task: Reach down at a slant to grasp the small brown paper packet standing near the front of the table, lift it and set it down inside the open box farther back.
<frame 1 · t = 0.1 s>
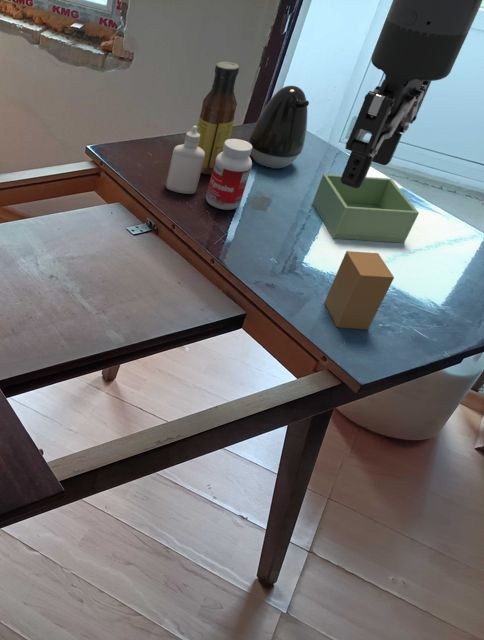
hand: (364, 173, 78), 25 cm above the table, tool pointing down, fingers open, 8 cm apart
black bird figurine: (269, 163, 137), on the table
packet: (345, 315, 99), on the table
sauce bottle: (204, 170, 134), on the table
eye dropper bottle: (180, 190, 127), on the table
open box: (356, 222, 121), on the table
pill bottle: (222, 203, 124), on the table
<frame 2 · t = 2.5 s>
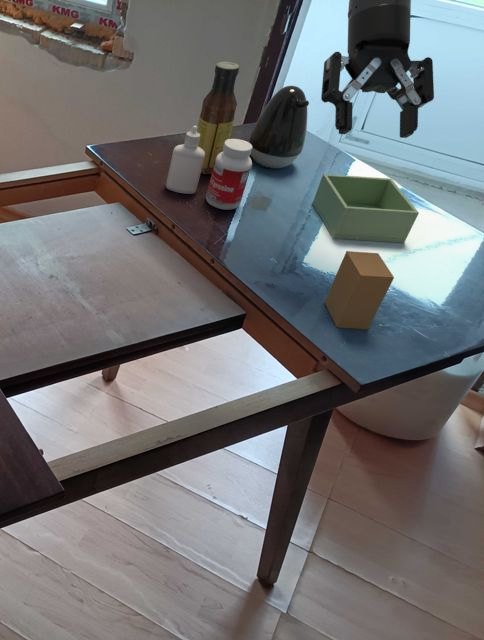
hand: (376, 134, 92), 23 cm above the table, tool tilted 45°, fingers open, 8 cm apart
nothing on the table moved.
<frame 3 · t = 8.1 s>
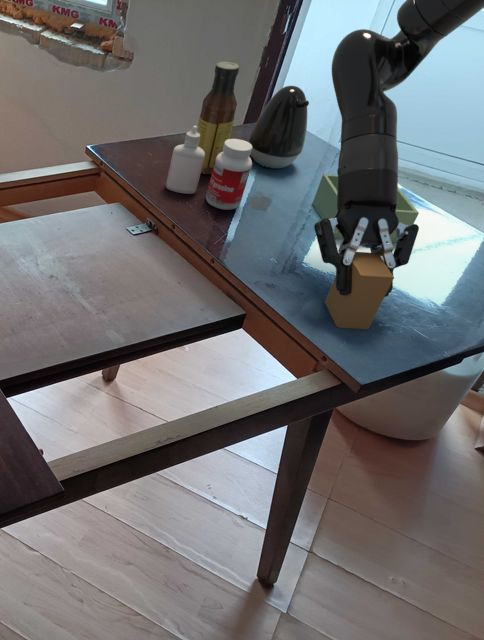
hand: (364, 295, 95), 5 cm above the table, tool tilted 45°, fingers closed on packet, 4 cm apart
packet: (345, 315, 99), on the table, touching gripper
everything else where it was.
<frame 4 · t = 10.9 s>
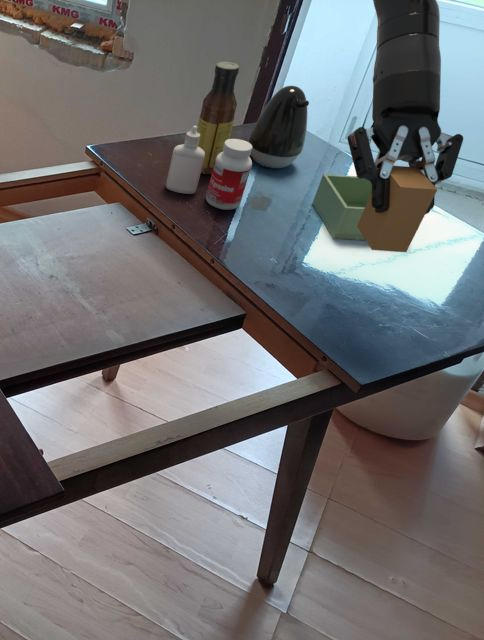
hand: (402, 212, 86), 18 cm above the table, tool tilted 45°, fingers closed on packet, 4 cm apart
packet: (380, 239, 91), point 13 cm above the table, touching gripper
everything else where it was.
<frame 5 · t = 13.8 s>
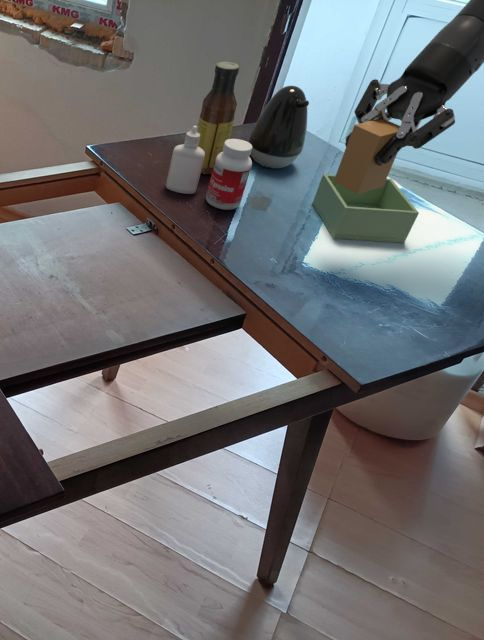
hand: (362, 154, 100), 17 cm above the table, tool tilted 45°, fingers closed on packet, 4 cm apart
packet: (358, 183, 104), point 12 cm above the table, touching gripper
everything else where it was.
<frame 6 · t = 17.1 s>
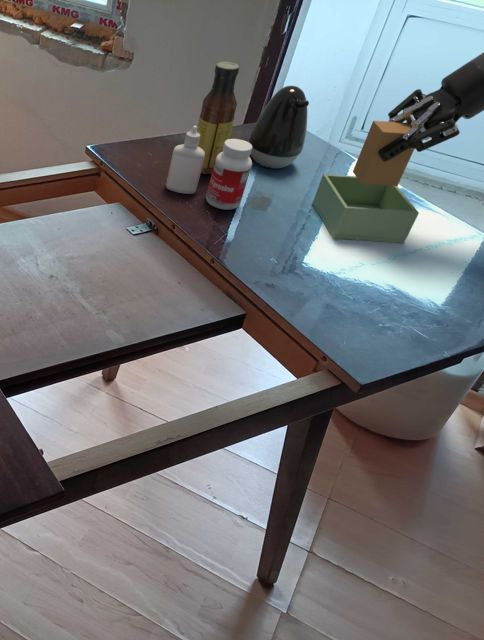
hand: (375, 149, 112), 13 cm above the table, tool tilted 45°, fingers closed on packet, 4 cm apart
packet: (374, 179, 115), point 8 cm above the table, touching gripper
everything else where it was.
when the fingers open (6 cm above the table, at t = 19.6 s): packet stays where it is, resting on open box.
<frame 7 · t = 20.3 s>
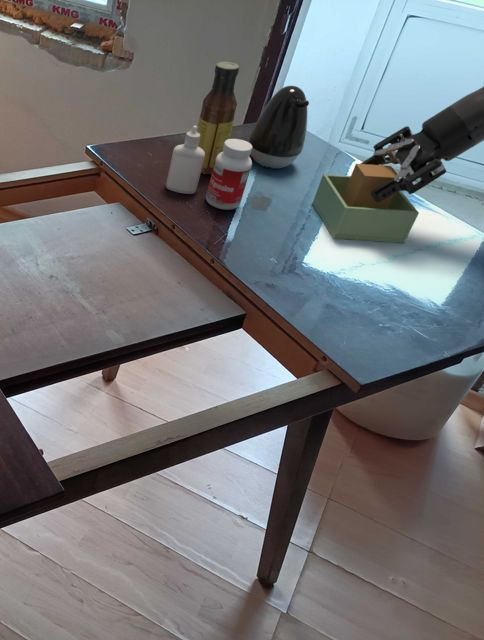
hand: (364, 185, 116), 7 cm above the table, tool tilted 45°, fingers open, 8 cm apart
packet: (357, 218, 120), point 1 cm above the table, touching open box
everything else where it was.
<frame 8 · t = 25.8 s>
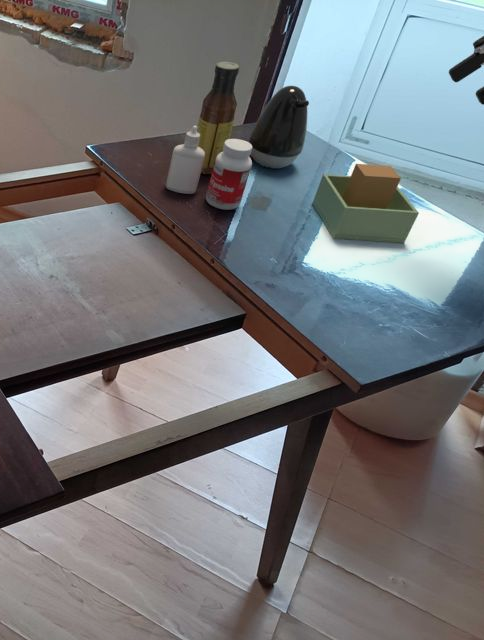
hand: (464, 87, 97), 27 cm above the table, tool tilted 45°, fingers open, 8 cm apart
nothing on the table moved.
at the end: packet inside the target area in the open box (0.1 cm from its centre), point 0.8 cm above the open box's base; the gripper is holding nothing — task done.
